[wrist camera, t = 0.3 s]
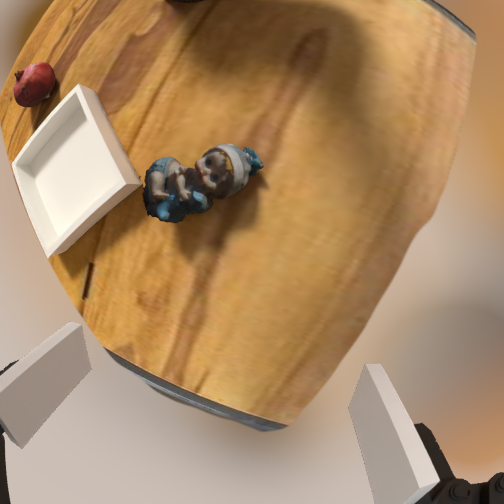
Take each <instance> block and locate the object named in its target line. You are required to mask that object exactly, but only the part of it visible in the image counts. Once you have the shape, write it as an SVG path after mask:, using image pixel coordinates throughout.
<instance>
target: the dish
mask: <svg viewBox="0 0 504 504" xmlns="http://www.w3.org/2000/svg"><path fill="white" fill-rule="evenodd" d="M12 167H13V171H14V174H15V177H16V181H17V184H18V187H19V190H20V193H21V196H22V199H23V201H24V204H25V207H26V209H27V212H28V215H29V217H30V220H31V222H32V225H33V227H34V229H35V232H36V234H37V236H38V239H39V241H40V243H41V245H42V247H43V249H44V251H45V254H46V256H47V258H50V257H52V256H55V255H58V254H61V253H63V252H66V251H67V250H68V249H69V248H70V247H71V246H72V245H73V244H74V243H75V242H76V241H77V240H78V239H79V238H80V237H81V236H82V235H83V234H85V233H86V232H87V231H88V230H89V229H90V228H91V227H92V226H93V225H94V224H95V223H97V222H98V221H99V220H100V219H101V218H102V217H103V216H105V215H106V214H107V213H108V212H109V211H110V210H112V209H113V208H114V207H115V206H116V205H117V204H119V203H120V202H121V201H122V200H124V199H125V198H126V197H127V196H128V195H130V194H131V193H132V192H133V191H135V190H136V189H137V188H139V187H140V186H141V185H142V182H141V180H140V179H139V177H138V175H137V173H136V171H135V169H134V168H133V166H132V164H131V162H130V160H129V158H128V156H127V154H126V152H125V151H124V149H123V147H122V145H121V143H120V141H119V139H118V137H117V135H116V133H115V131H114V129H113V127H112V125H111V123H110V121H109V119H108V117H107V115H106V113H105V111H104V109H103V107H102V105H101V102H100V100H99V98H98V96H97V94H96V92H95V91H93V90H91V89H89V88H87V87H85V86H83V85H80V84H78V85H77V86H76V87H75V88H74V89H73V90H72V91H71V92H70V93H69V94H68V95H67V96H66V97H65V98H64V99H63V100H62V101H61V102H60V103H59V104H58V105H57V107H56V108H55V109H54V110H53V111H52V112H51V113H50V114H49V116H48V117H47V118H46V119H45V120H44V121H43V123H42V124H41V125H40V126H39V128H38V129H37V130H36V131H35V133H34V134H33V135H32V136H31V138H30V139H29V140H28V142H27V143H26V144H25V146H24V147H23V149H22V150H21V151H20V153H19V154H18V156H17V157H16V159H15V160H14V162H13V163H12Z"/></svg>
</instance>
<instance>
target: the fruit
mask: <svg viewBox="0 0 504 504" xmlns="http://www.w3.org/2000/svg"><path fill="white" fill-rule="evenodd" d="M15 76H16V84H15V87H14V97H15V100H16V102H17V103H18V104H19V105H20V106H23V107H33V106H35V105H37V104H38V103H40V102H41V101H42V100H43V99H44V98H48V97H51V95H50V94H51V91H52V89H53V88H54V85H55V74H54V71H53V69H52V67H51V66H50V65H49V64H48V63H44V62H38V63H34V64H32V65H30V66H28V67H27V68H26V69H25V70H24V71H18V73H17V74H16V73H15Z"/></svg>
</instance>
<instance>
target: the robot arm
mask: <svg viewBox="0 0 504 504" xmlns="http://www.w3.org/2000/svg"><path fill="white" fill-rule="evenodd" d="M174 1H179V2H194V1H201V0H174ZM91 369H92V368H91V365H90V361H89V357H88V352H87V348H86V344H85V339H84V334H83V329H82V325H81V324H78V323H75V322H72V321H70V322H69V323H67V324H66V325H64V326H63V327H62V328H60V329H59V330H58V331H57V332H55V333H54V334H52V335H51V336H50V337H48V338H47V339H46V340H45V341H43V342H42V343H41V344H39V345H38V346H37V347H35V348H34V349H33V350H32V351H30V352H29V353H28V354H26V355H25V356H24V357H23V358H21V359H20V360H17V361H15V362H13V363H10V364H9V365H8V366H7V367H5V368H4V370H2V371H0V504H11V503H10V498H9V491H8V484H7V476H6V462H5V440H4V436H3V435H2V434H3V433H4V432H6V434H7V435H8V437H9V438H10V440H11V441H12V442H14V443H15V444H16V445H17V446H19V447H20V448H21V449H23V448H24V446H25V445H26V444H27V443H28V441H29V440H30V439H31V438H32V437H33V435H34V434H35V433H36V432H37V431H38V429H39V428H40V427H41V426H42V425H43V423H44V422H45V421H46V420H47V419H48V418H49V416H50V415H51V414H52V413H53V412H54V411H55V410H56V408H57V407H58V406H59V405H60V404H61V403H62V401H63V400H64V399H65V398H66V397H67V396H68V395H69V394H70V392H71V391H72V390H73V389H74V388H75V387H76V386H77V385H78V384H79V383H80V381H81V380H82V379H83V378H84V377H85V376H86V375H87V374H88V372H90V370H91ZM348 408H349V412H350V415H351V418H352V422H353V425H354V428H355V432H356V435H357V439H358V442H359V446H360V449H361V453H362V456H363V460H364V464H365V468H366V471H367V475H368V479H369V483H370V486H371V491H372V495H373V499H374V503H375V504H504V473H503V472H500V473H497V474H495V475H494V476H493V477H492V478H491V479H490V480H489V481H488V482H484V483H477V484H470V483H468V481H466V480H464V479H457V478H455V476H454V475H453V473H452V471H451V469H450V466H449V464H448V462H447V460H446V458H445V457H444V454H443V453H442V451H441V450H440V447H439V445H438V443H437V442H436V439H435V437H434V435H433V434H432V432H431V430H430V429H428V428H427V427H426V426H425V425H424V424H423V423H420V424H414V425H413V423H412V421H411V419H410V417H409V415H408V413H407V411H406V409H405V407H404V405H403V403H402V402H401V400H400V398H399V396H398V394H397V392H396V390H395V389H394V387H393V385H392V383H391V382H390V379H389V378H388V376H387V374H386V372H385V371H384V369H383V367H382V365H381V363H371V364H369V363H366V364H365V365H364V368H363V371H362V374H361V377H360V379H359V382H358V385H357V387H356V390H355V392H354V395H353V398H352V400H351V403H350V405H349V407H348Z"/></svg>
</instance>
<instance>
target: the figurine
mask: <svg viewBox="0 0 504 504" xmlns="http://www.w3.org/2000/svg"><path fill="white" fill-rule="evenodd" d="M262 168H263V162H262V161H260V158H259V156H257V154H256V152H255V151H254V150H251V149H250V148H248V147H244V151H241V150H240V149H239V148H238V147H237V146H234V145H233V144H227V145H226V144H220V145H218V146H216V147H214V148H211V149H209V150H208V151H207V152H206V153H204V155H203V157H202V158H201V159H198V160H197V161H196V163H195V169H193V168H187V167H183V166H181V164H180V163H179V162H178V161H177V160H176V159H175V158H173V157H167V158H161V159H158V160H157V161H155V162H154V163H153V164H152V166H150V168H149V170H147V171H146V176H145V184H146V186H145V187H144V188H143V189H144V192H143V194H142V195H143V199H144V200H143V201H144V203H145V207H146V208H145V209H146V210H147V215H148V216H149V215H151V216H152V217H157V218H159V220H160V221H164V222H171V223H178V222H181V221H183V219H184V218H185V215H186V214H187V215H189V214H194V213H204V212H206V211H207V210H209V209H210V208H212V205H213V202H212V199H213V198H217V199H220V200H222V199H226V198H228V197H231V196H232V195H234V194H235V193H236V192H237V191H239V190H240V189H242V188H243V187H244V186H245V185H246V184H247V182H248V179H249V175H250V176H252V175H256V174H257V173H258V171H259V169H262ZM140 177H141V176H140ZM140 177H139V179H140Z"/></svg>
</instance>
